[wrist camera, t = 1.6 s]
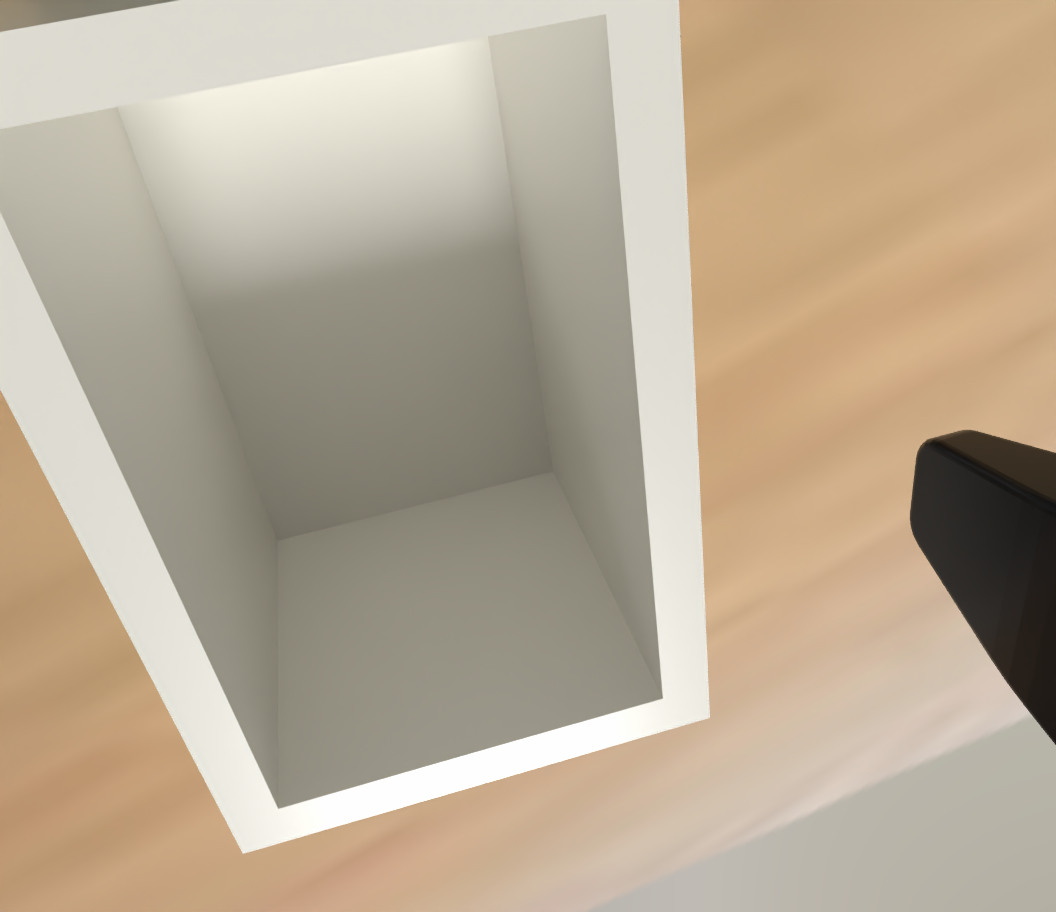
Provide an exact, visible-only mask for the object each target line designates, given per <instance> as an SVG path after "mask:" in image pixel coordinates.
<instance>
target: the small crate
mask: <svg viewBox="0 0 1056 912" xmlns="http://www.w3.org/2000/svg"><path fill="white" fill-rule="evenodd" d="M0 390H1V392H2V394H3V396H4V397H5V399H6V401H7V403H8V405H9V407H10V409H11V411H12V413H13V415H14V417H15V418H16V420H17V422H18V424H19V426H20V428H21V430H22V432H23V434H24V436H25V438H26V440H27V441H28V443H29V445H30V447H31V449H32V451H33V453H34V455H35V457H36V459H37V461H38V462H39V464H40V466H41V468H42V470H43V472H44V474H45V476H46V478H47V480H48V482H49V484H50V485H51V487H52V489H53V491H54V493H55V495H56V497H57V499H58V501H59V503H60V505H61V506H62V508H63V510H64V512H65V514H66V516H67V518H68V520H69V522H70V524H71V526H72V528H73V529H74V531H75V533H76V535H77V537H78V539H79V541H80V543H81V545H82V547H83V549H84V550H85V552H86V554H87V556H88V558H89V560H90V562H91V564H92V566H93V568H94V570H95V572H96V573H97V575H98V577H99V579H100V581H101V583H102V585H103V587H104V589H105V591H106V593H107V594H108V596H109V598H110V600H111V602H112V604H113V606H114V608H115V610H116V612H117V614H118V616H119V617H120V619H121V621H122V623H123V625H124V627H125V629H126V631H127V633H128V635H129V637H130V638H131V640H132V642H133V644H134V646H135V648H136V650H137V652H138V654H139V656H140V658H141V660H142V661H143V663H144V665H145V667H146V669H147V671H148V673H149V675H150V677H151V679H152V681H153V682H154V684H155V686H156V688H157V690H158V692H159V694H160V696H161V698H162V700H163V702H164V704H165V705H166V707H167V709H168V711H169V713H170V715H171V717H172V719H173V721H174V723H175V725H176V726H177V728H178V730H179V732H180V734H181V736H182V738H183V740H184V742H185V744H186V746H187V748H188V749H189V751H190V753H191V755H192V757H193V759H194V761H195V763H196V765H197V767H198V769H199V770H200V772H201V774H202V776H203V778H204V780H205V782H206V784H207V786H208V788H209V790H210V792H211V793H212V795H213V797H214V799H215V801H216V803H217V805H218V807H219V809H220V811H221V813H222V814H223V816H224V818H225V820H226V822H227V824H228V826H229V828H230V830H231V832H232V834H233V836H234V837H235V839H236V841H237V843H238V845H239V847H240V849H241V851H242V853H243V854H244V853H247V852H251V851H254V850H258V849H261V848H265V847H268V846H271V845H275V844H278V843H282V842H285V841H289V840H292V839H295V838H299V837H302V836H306V835H309V834H313V833H316V832H319V831H323V830H326V829H330V828H333V827H337V826H340V825H343V824H347V823H350V822H354V821H357V820H361V819H364V818H367V817H371V816H374V815H378V814H381V813H385V812H388V811H391V810H395V809H398V808H402V807H405V806H409V805H412V804H416V803H419V802H422V801H426V800H429V799H433V798H436V797H440V796H443V795H446V794H450V793H453V792H457V791H460V790H464V789H467V788H470V787H474V786H477V785H481V784H484V783H488V782H491V781H494V780H498V779H501V778H505V777H508V776H512V775H515V774H518V773H522V772H525V771H529V770H532V769H536V768H539V767H543V766H546V765H549V764H553V763H556V762H560V761H563V760H567V759H570V758H573V757H577V756H580V755H584V754H587V753H591V752H594V751H597V750H601V749H604V748H608V747H611V746H615V745H618V744H621V743H625V742H628V741H632V740H635V739H639V738H642V737H645V736H649V735H652V734H656V733H659V732H663V731H666V730H670V729H673V728H676V727H680V726H683V725H687V724H690V723H694V722H697V721H700V720H704V719H707V718H710V712H709V689H708V666H707V643H706V620H705V597H704V573H703V550H702V527H701V504H700V481H699V458H698V434H697V411H696V388H695V365H694V342H693V319H692V296H691V272H690V249H689V226H688V203H687V180H686V157H685V133H684V110H683V87H682V64H681V41H680V18H679V0H0Z"/></svg>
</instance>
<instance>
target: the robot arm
mask: <svg viewBox="0 0 1056 912" xmlns="http://www.w3.org/2000/svg"><path fill="white" fill-rule="evenodd" d="M910 522H911V528H912V532H913V535H914V537H915V540H916V542H917V543H918V545H919V547H920V548H921V550H922V552H923V553H924V555H925V556H926V558H927V559H928V561H929V563H930V564H931V566H932V567H933V569H934V570H935V572H936V574H937V575H938V577H939V578H940V580H941V581H942V583H943V585H944V586H945V588H946V589H947V591H948V592H949V594H950V596H951V597H952V599H953V600H954V602H955V603H956V605H957V607H958V608H959V610H960V611H961V613H962V614H963V616H964V618H965V619H966V621H967V622H968V624H969V625H970V627H971V628H972V630H973V632H974V633H975V635H976V636H977V638H978V639H979V641H980V643H981V644H982V646H983V647H984V649H985V650H986V652H987V654H988V655H989V657H990V658H991V660H992V661H993V663H994V664H995V666H996V667H997V669H998V670H999V672H1000V673H1001V674H1002V676H1003V677H1004V679H1005V680H1006V682H1007V683H1008V684H1009V686H1010V687H1011V688H1012V690H1013V691H1014V692H1015V694H1016V695H1017V696H1018V698H1019V699H1020V700H1021V702H1022V703H1023V704H1024V706H1025V707H1026V708H1027V709H1028V711H1029V712H1030V713H1031V714H1032V716H1033V717H1034V718H1035V719H1036V721H1037V722H1038V723H1039V724H1040V726H1041V727H1042V728H1043V730H1044V731H1045V732H1046V733H1047V735H1049V737H1050V738H1051V739H1052V741H1053V742H1054V743H1055V745H1056V453H1054V452H1050V451H1047V450H1043V449H1039V448H1036V447H1032V446H1029V445H1025V444H1021V443H1018V442H1014V441H1010V440H1007V439H1003V438H1000V437H996V436H992V435H989V434H985V433H981V432H978V431H973V430H962V431H957V432H954V433H950V434H946V435H942V436H938V437H935V438H931V439H928V440H927V441H925V442H924V443H923V444H922V445H921V446H920V448H919V450H918V452H917V457H916V465H915V473H914V482H913V491H912V500H911V509H910Z"/></svg>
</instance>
